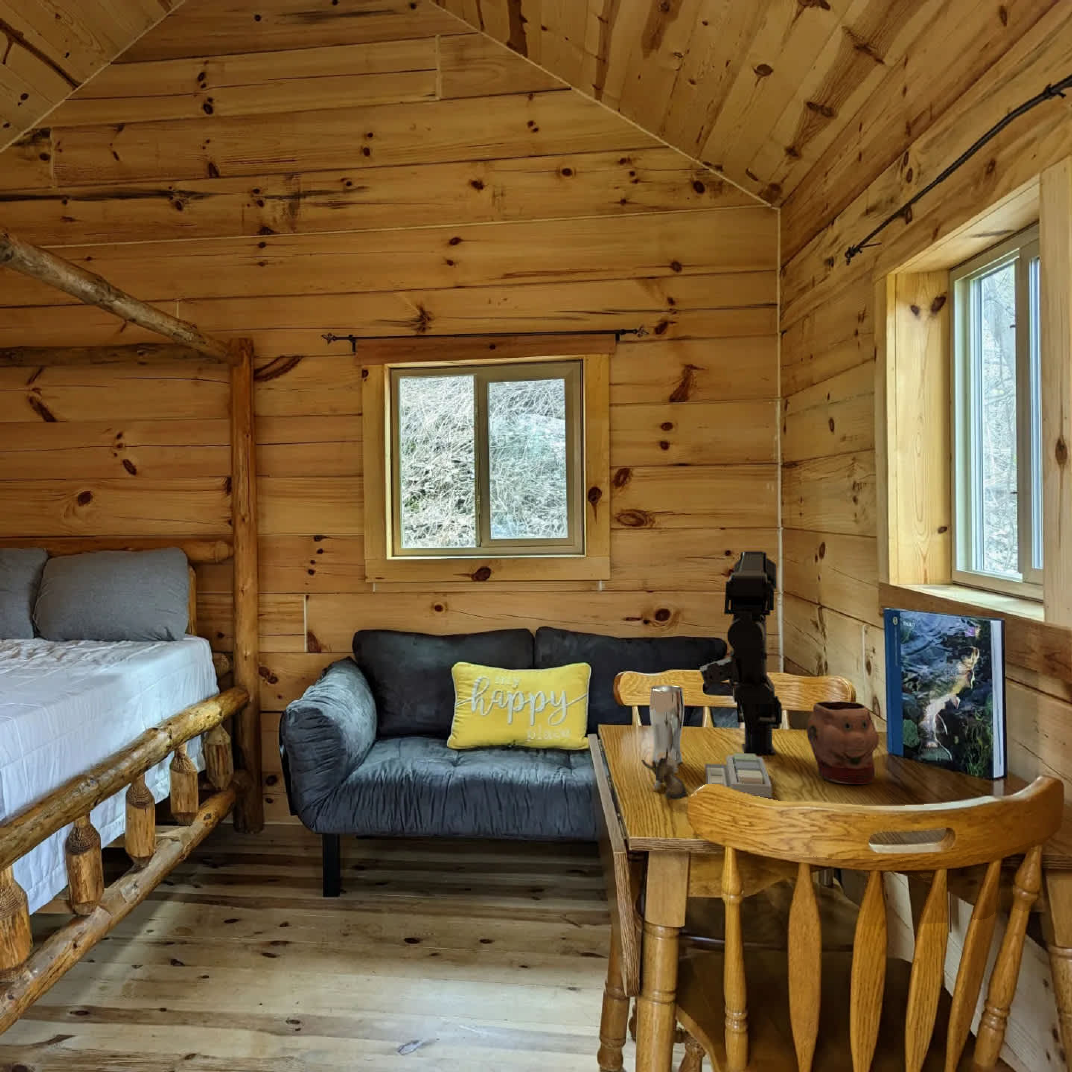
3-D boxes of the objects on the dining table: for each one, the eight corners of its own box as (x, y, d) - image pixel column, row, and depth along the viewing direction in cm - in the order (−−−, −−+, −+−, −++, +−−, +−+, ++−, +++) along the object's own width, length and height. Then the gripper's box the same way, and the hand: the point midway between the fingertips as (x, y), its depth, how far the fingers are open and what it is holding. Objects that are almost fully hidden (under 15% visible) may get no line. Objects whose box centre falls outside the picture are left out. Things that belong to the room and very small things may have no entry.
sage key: (734, 761, 150) (734, 753, 150) (755, 762, 149) (755, 754, 149) (735, 767, 146) (735, 758, 146) (757, 768, 145) (757, 759, 145)
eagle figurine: (631, 779, 143) (647, 785, 134) (648, 744, 145) (665, 748, 136) (665, 800, 143) (683, 807, 135) (682, 765, 145) (701, 770, 136)
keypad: (705, 768, 153) (704, 753, 153) (762, 771, 150) (762, 756, 150) (707, 801, 134) (707, 783, 134) (773, 804, 132) (772, 787, 132)
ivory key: (737, 778, 139) (737, 769, 139) (760, 780, 138) (760, 771, 138) (739, 785, 135) (739, 776, 135) (762, 787, 134) (762, 777, 134)
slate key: (735, 769, 144) (735, 761, 144) (757, 770, 143) (757, 762, 143) (737, 776, 140) (737, 767, 140) (760, 777, 139) (759, 768, 139)
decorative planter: (789, 761, 157) (789, 693, 157) (848, 759, 158) (847, 692, 158) (833, 793, 137) (832, 715, 137) (899, 792, 138) (898, 714, 138)
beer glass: (669, 768, 153) (668, 692, 153) (642, 760, 158) (642, 687, 158) (691, 761, 157) (690, 688, 157) (665, 754, 163) (664, 683, 163)
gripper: (701, 637, 147) (702, 719, 147) (703, 652, 129) (704, 745, 129) (761, 639, 145) (762, 721, 145) (772, 653, 127) (773, 748, 127)
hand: (749, 733), depth 136 cm, fingers closed
